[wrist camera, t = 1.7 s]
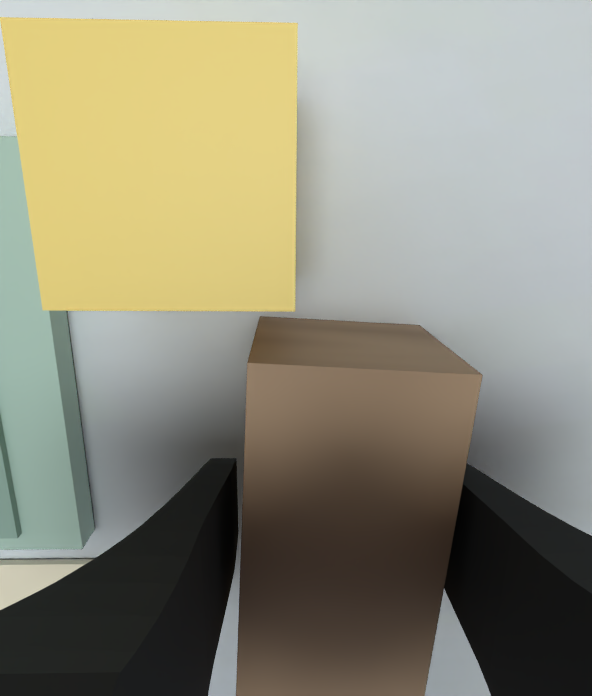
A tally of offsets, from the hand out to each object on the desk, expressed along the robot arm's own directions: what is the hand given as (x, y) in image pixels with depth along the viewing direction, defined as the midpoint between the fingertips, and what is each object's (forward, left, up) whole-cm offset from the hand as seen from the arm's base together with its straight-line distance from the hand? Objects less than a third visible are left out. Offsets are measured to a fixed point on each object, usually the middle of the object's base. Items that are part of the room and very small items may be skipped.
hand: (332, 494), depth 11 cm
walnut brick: (0, 0, -2) cm, 2 cm away
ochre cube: (+7, +3, -2) cm, 8 cm away
